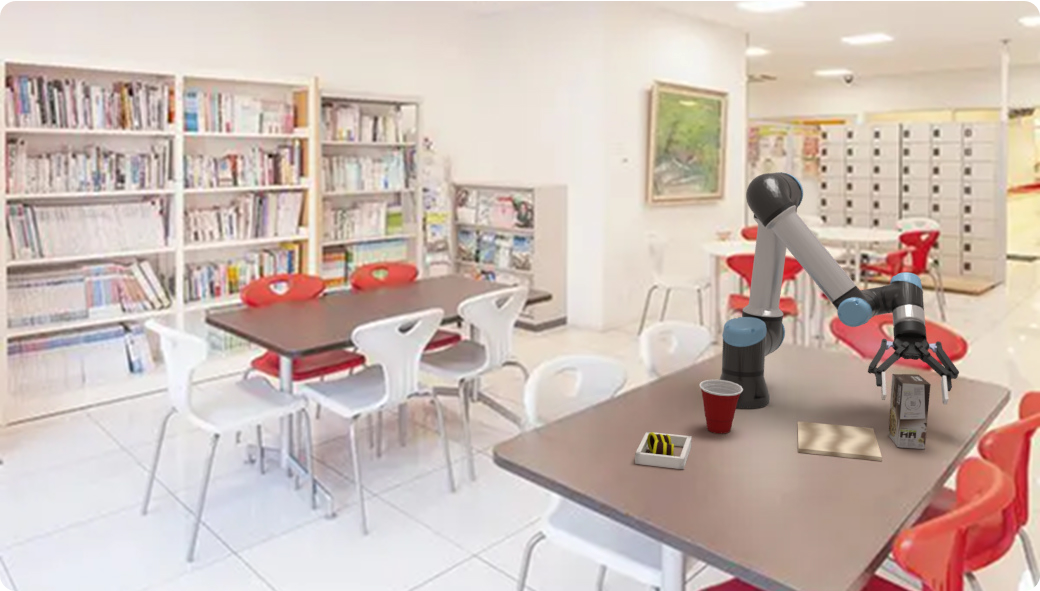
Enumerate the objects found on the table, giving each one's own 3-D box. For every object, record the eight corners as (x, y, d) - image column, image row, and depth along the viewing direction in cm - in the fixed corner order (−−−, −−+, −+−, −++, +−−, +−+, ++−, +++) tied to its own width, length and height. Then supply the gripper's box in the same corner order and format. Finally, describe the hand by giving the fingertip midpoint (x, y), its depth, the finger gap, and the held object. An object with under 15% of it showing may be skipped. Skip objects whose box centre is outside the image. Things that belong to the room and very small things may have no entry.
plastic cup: (717, 440, 191) (719, 393, 188) (689, 427, 200) (690, 383, 198) (750, 433, 196) (752, 387, 193) (721, 420, 205) (722, 377, 203)
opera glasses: (676, 464, 176) (676, 443, 175) (652, 464, 176) (653, 444, 175) (668, 449, 186) (669, 429, 185) (646, 449, 186) (646, 429, 185)
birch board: (798, 452, 182) (798, 448, 182) (797, 425, 201) (797, 421, 201) (881, 461, 177) (881, 456, 176) (872, 432, 195) (873, 428, 195)
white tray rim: (635, 463, 177) (635, 453, 176) (646, 441, 191) (646, 431, 190) (683, 469, 173) (683, 458, 173) (691, 446, 187) (691, 436, 187)
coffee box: (926, 449, 183) (931, 384, 180) (897, 447, 184) (902, 383, 182) (914, 436, 192) (919, 373, 189) (887, 434, 193) (891, 372, 190)
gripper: (960, 336, 198) (968, 410, 187) (855, 331, 206) (857, 402, 195) (966, 320, 192) (975, 396, 181) (858, 316, 200) (860, 388, 189)
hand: (914, 399), depth 188 cm, fingers open, 13 cm apart
